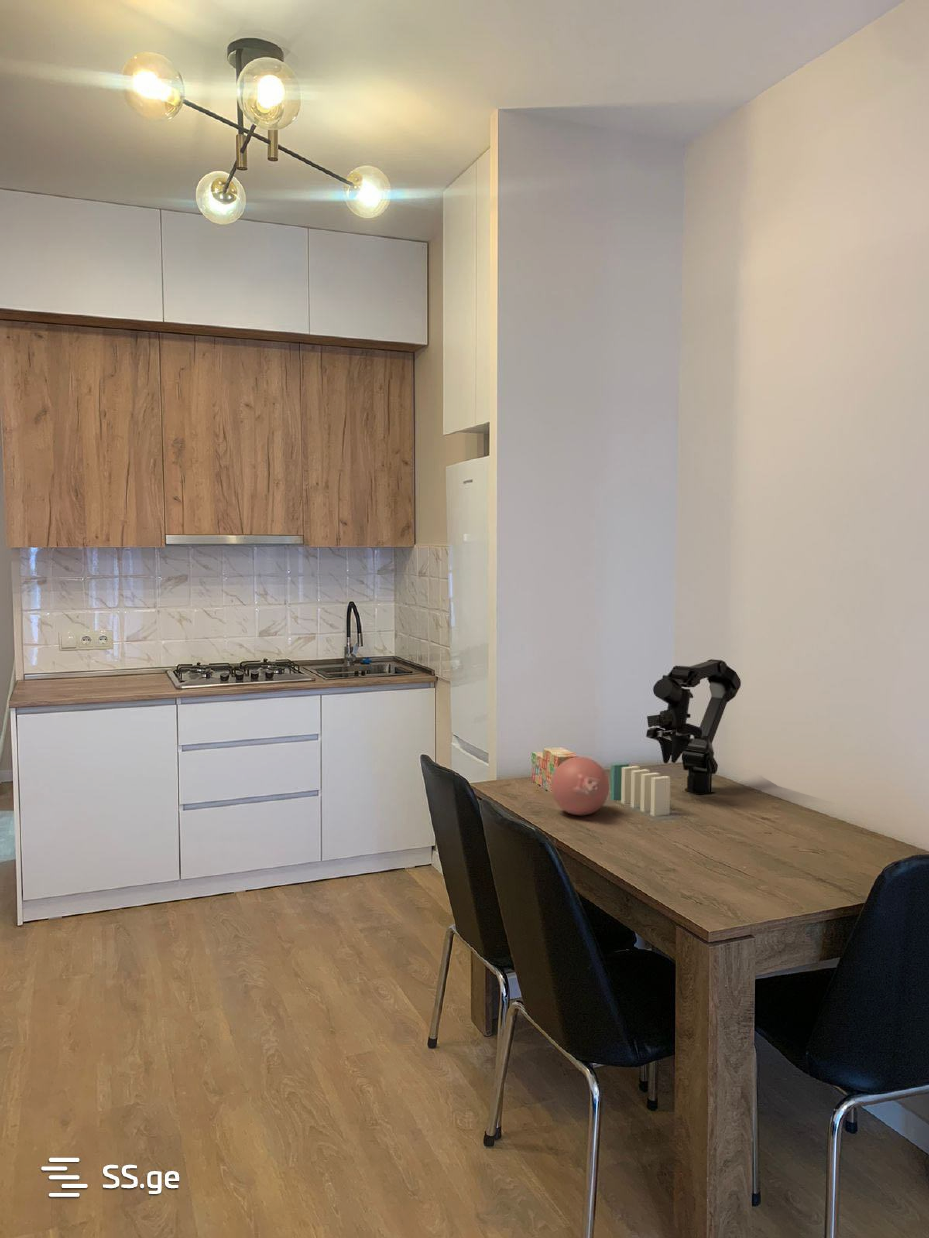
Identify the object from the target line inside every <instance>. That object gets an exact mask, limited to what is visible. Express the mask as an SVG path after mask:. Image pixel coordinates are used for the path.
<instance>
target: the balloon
mask: <svg viewBox="0 0 929 1238" xmlns="http://www.w3.org/2000/svg"><path fill="white" fill-rule="evenodd" d="M551 791H552V793H551V795H552V797H553V799H554V801H555V803H556V805H557V806H558V807H560V809H562V810H563V811H564V812H566V813H568V814H571V815H573V816H587V815H591V814H593V813H595V812H596V811H598V810H599V809H600V808H602V806H603V805H604V804H605V802H606V800H607V796H609V793H610V792H609V791H610V782H609V777H608V775H607V772H606V771H605V769H604V768H603V767H602V766H601V764H599V763H598V762H597V761H595V760H593V759H592V758H588V757H584V756H578V757H574V758H570V759H568V760H566V761H564V762H563V763H561V764H560V765H559V766H558V767H557V769H556V770H555V772H554V774H553V776H552V780H551Z"/></svg>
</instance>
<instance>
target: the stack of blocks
mask: <svg viewBox="0 0 929 1238" xmlns="http://www.w3.org/2000/svg"><path fill="white" fill-rule="evenodd" d="M574 757H579V755H577V754H575V753H574V752H572V751H570V750H568V749H566V748H563V747H561V746H560V747H544V748H542V751H532V752H531V781H532V780H534V781H535V782H536V783H537V784H540V785H541V786H542V787H545V788H546V789H547V790H549V791H550V792H552V791H551V780H552V776H553V774H554V772H555V770H556V769H557V767H558V766H559V765H560V764H561V763H563V762H564V761H566V760H568V759H570V758H574ZM536 783H535V784H536ZM537 784H536V785H537ZM550 792H549V793H550Z"/></svg>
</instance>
